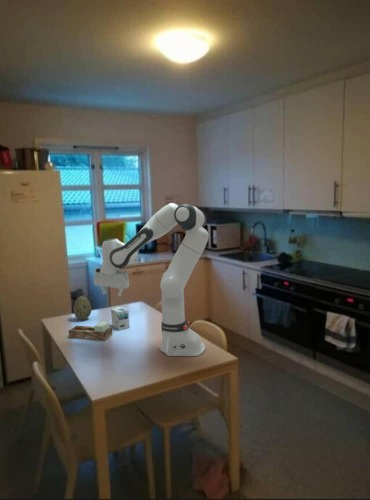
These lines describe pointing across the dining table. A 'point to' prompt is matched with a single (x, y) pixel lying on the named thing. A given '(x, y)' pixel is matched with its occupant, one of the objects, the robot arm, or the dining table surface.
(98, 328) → the block
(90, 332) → the beam
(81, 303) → the decorative egg
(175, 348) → the robot arm
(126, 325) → the light bulb box
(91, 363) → the dining table surface
